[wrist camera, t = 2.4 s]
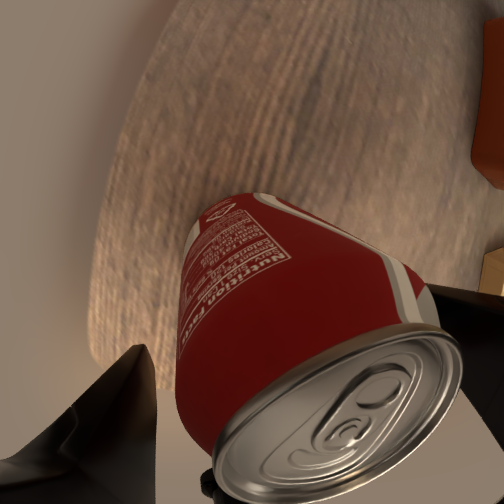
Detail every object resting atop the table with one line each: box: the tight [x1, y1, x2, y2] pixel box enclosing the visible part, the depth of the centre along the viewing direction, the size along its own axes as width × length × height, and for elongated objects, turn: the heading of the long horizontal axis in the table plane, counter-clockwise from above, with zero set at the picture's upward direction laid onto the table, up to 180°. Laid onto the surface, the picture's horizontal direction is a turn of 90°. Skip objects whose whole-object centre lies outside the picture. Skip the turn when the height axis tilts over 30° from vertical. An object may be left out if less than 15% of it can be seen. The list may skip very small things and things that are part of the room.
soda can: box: [175, 192, 464, 504], centre depth 10 cm, size 7×7×12 cm
